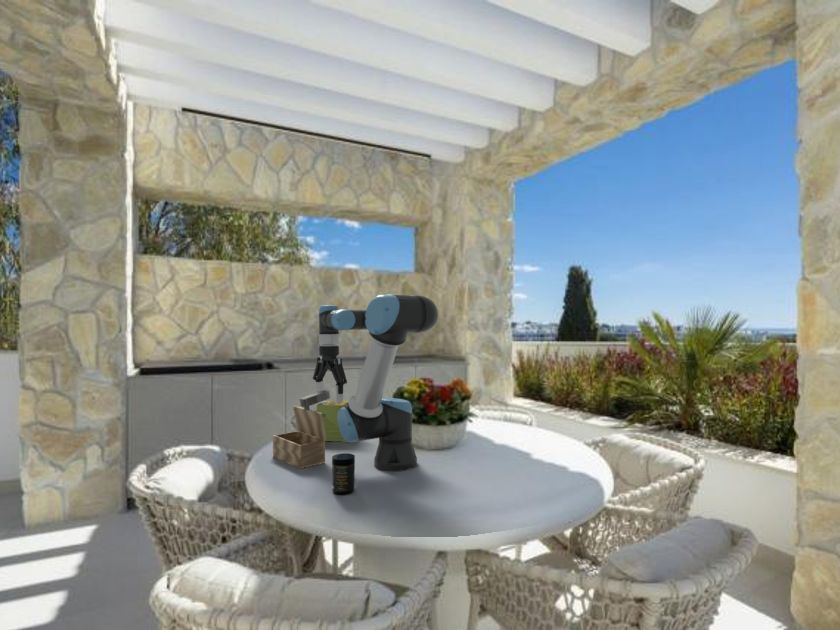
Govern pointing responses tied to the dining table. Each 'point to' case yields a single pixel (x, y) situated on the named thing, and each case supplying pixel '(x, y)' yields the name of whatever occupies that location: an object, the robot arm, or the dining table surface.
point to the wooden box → (298, 449)
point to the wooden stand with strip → (311, 415)
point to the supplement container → (343, 473)
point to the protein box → (331, 419)
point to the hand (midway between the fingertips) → (329, 400)
